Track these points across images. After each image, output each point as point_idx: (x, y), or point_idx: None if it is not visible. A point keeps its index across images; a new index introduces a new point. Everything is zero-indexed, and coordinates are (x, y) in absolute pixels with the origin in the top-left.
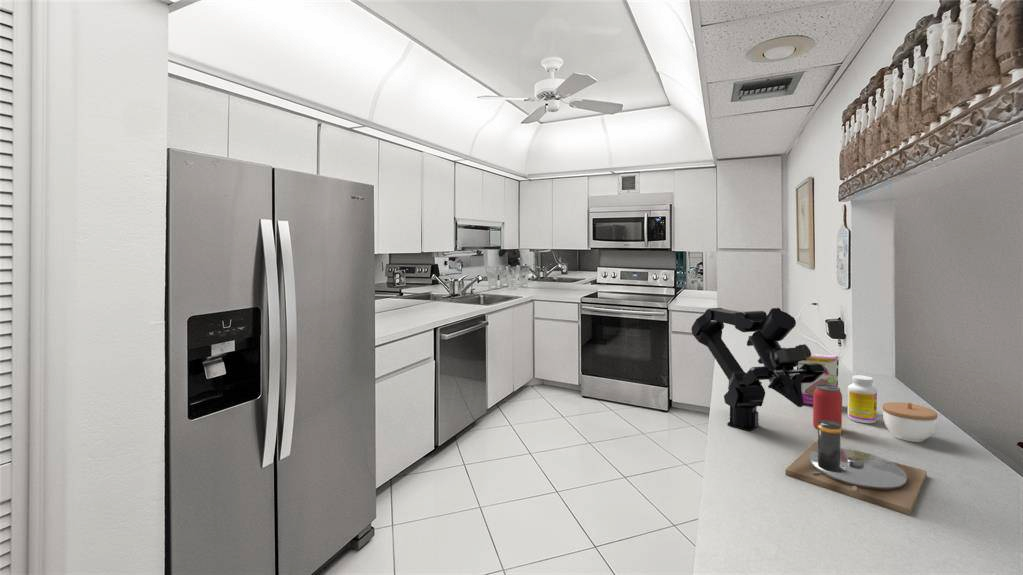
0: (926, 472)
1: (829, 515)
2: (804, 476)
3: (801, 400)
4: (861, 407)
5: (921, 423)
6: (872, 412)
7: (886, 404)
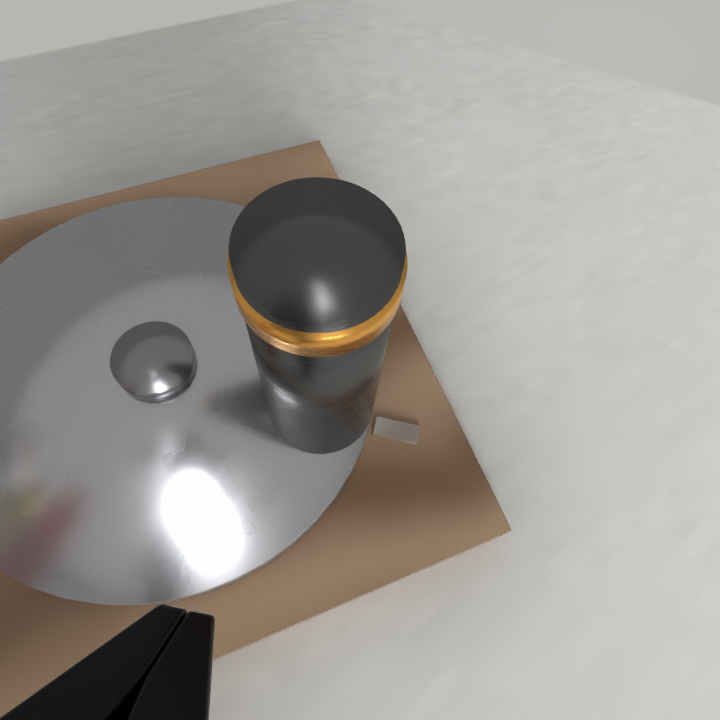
0: None
1: (586, 247)
2: (467, 442)
3: (135, 650)
4: None
5: None
6: None
7: None
